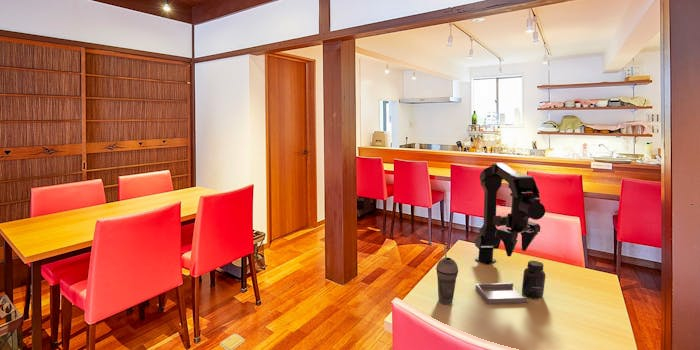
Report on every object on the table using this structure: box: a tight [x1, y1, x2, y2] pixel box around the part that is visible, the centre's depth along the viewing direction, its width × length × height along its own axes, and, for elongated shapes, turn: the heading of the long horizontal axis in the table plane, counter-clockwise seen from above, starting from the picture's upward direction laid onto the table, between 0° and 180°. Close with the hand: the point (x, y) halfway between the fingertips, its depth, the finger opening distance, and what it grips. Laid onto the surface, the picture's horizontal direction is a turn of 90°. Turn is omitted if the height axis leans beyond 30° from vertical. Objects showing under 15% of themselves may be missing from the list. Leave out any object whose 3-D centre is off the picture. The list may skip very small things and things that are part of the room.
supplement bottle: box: [521, 260, 547, 300], centre depth 124 cm, size 7×7×12 cm
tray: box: [475, 282, 529, 305], centre depth 124 cm, size 14×10×2 cm
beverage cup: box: [435, 244, 459, 306], centre depth 119 cm, size 7×7×20 cm
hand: (516, 253), depth 127 cm, fingers open, 9 cm apart
